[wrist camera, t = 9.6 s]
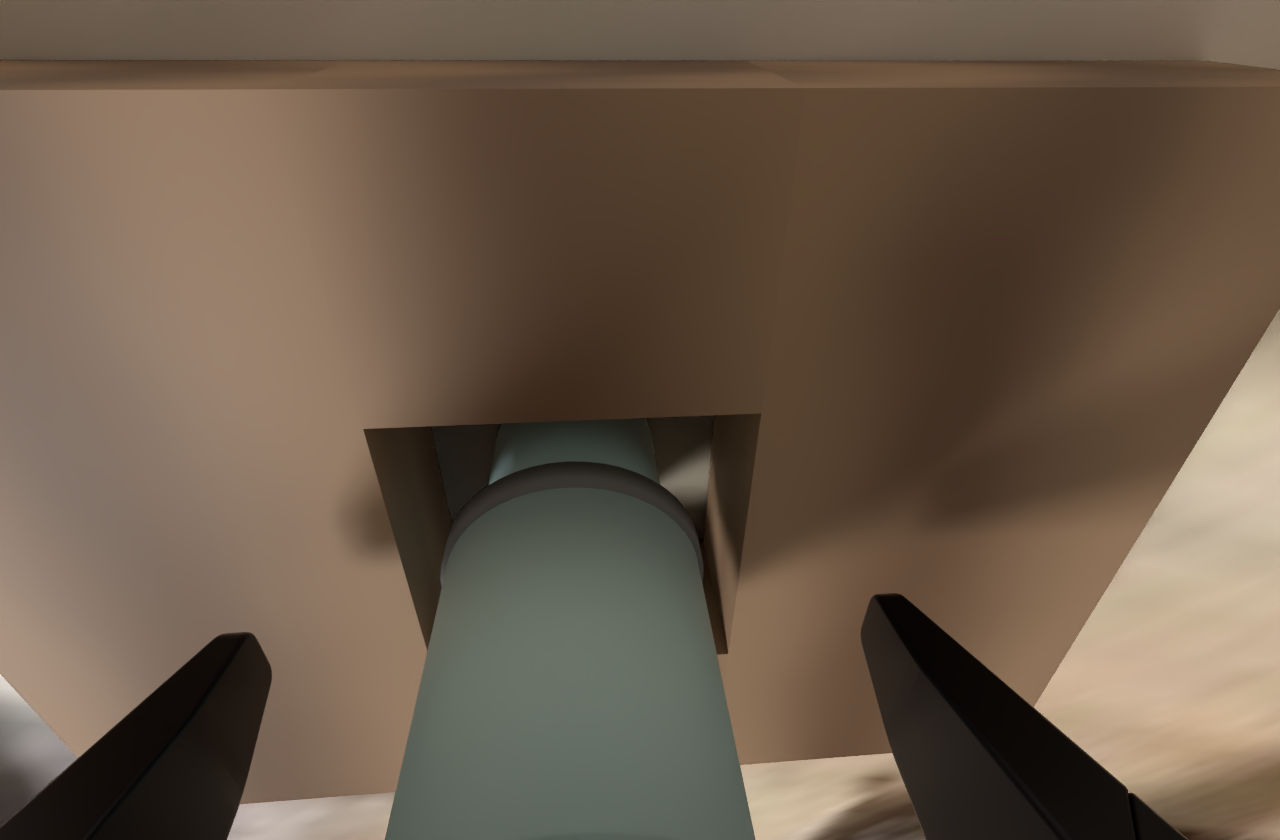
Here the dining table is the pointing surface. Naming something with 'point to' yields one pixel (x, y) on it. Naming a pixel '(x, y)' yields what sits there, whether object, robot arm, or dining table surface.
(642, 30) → the dining table surface
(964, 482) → the socket board
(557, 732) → the stepped peg
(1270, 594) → the dining table surface
